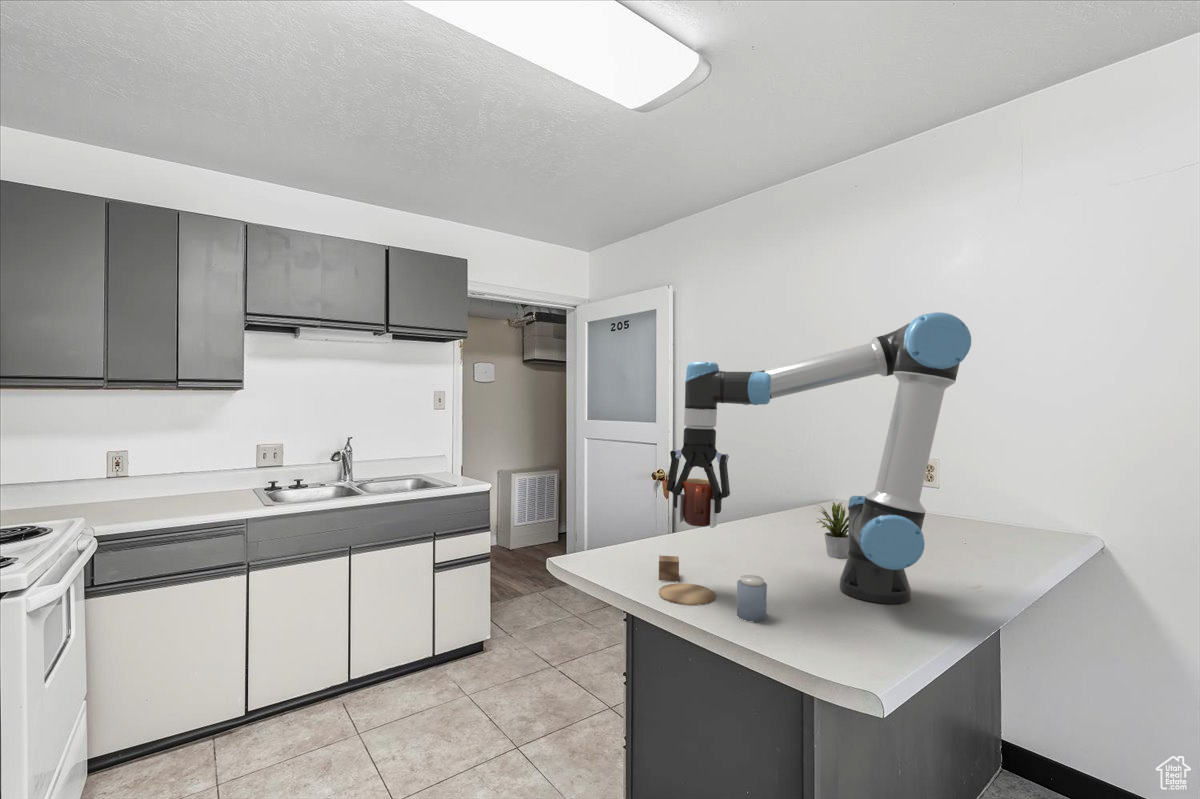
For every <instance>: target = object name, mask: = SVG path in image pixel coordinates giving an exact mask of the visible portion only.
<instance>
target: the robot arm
mask: <svg viewBox="0 0 1200 799" xmlns="http://www.w3.org/2000/svg"><path fill="white" fill-rule="evenodd" d="M971 347H972V334H971V331H970V329H969V328H968V326H967V324H966V323H965V322H964V321H963V320H961V319H960V318H959V317H957V316H955V315H953V314H950V313H947V312H930V313H925V314H922V315H919V316H917V317H915V318H914V319H913V320H912V321H911V322H908V323H907V324H905V325H903V326H901V327H899V328H898V329H896V330H894V331H891V332H889V333H886V334H883V335H879V336H875V337H873V338H872V340H871V341H870V342H869V343H865V344H861V345H858V346H857V345H856V346H853V347H850V348H846V349H841V350H837V351H834V352H829V353H825V354H822V355H818V356H814V357H809V358H806V359H801V360H797V361H794V362H790V363H786V364H782V365H778V366H775V367H771V368H767V369H761V370H758V371H756V370H755V371H723V370H720V368H719V364H718V363H717V362H711V361H693V362H690V363H688V364H687V365H686V366H687V367H686V372H685V373H686V374H685V382H684V383H685V386H684V387H685V388H684V393H685V394H684V416H683V425H684V426H685V428H684V429H683V438H682V439H683V442H682V443H683V445H682V448H681V449H674V450H670V452H669V453H670V454H669V455H670V460H671V461H670V466H669V472H668V477H667V482H666V483H667V484H666V489H665V490H666V491H667V492H670V493H672V494H673V507H674V509H677V510H676V523H677V524H680V523H681V524H682V523H683V522H684V514H683V511H684V493H683V491H684V488H683V481H685V482H686V480H687V479H689V476H690V473H691V471H692V470H693V469H694V468H696V467H698V468H703V470H704V472H705V474H706V477H707V479H708V480H709V483H710V486H711V489H712V492H713V495H714V498H713V499H711V512H710V526H709V528H711V529H714V528H716V526H717V519H718V514H720V513H721V512H722V500H723V499H725V498H727V497H730V495H731V491H730V482H729V472H728V471H729V470H728V461H729V457H730V456H729V454H728V453H721V452H718V450H717V448H716V442H717V438H716V437H717V430H716V429H715V427H717V415H718V413H717V412H718V410H717V409H718V404H735V405H736V404H737V405H744V406H749V405H753V406H759V405H761V406H762V405H763V406H764V405H768V404H769V403H770V401H771V400H772V399H775V398H780V397H785V396H789V395H792V394H797V393H801V392H806V391H809V390H815V389H818V388H824V387H828V386H832V385H836V384H840V383H844V382H848V381H853V380H858V379H861V378H865V377H869V376H874V375H880V376H882V377H884V378H885V377H890V376H894V377H895V379H897V381H898V385H897V390H896V393H895V394H896V395H895V398H894V403H893V408H892V412H891V417H890V421H889V425H888V430H887V434H886V438H885V444H884V446H883V452H882V455H881V456H882V457H881V461H880V466H879V470H878V475H877V478H876V483H875V488H874V489H873V490H872V491H871V492H869V493H867V494H866V495H852V496H850V498H849V500H848V505H847V509H848V516H849V520H848V523H849V526H848V528H847V530H848V532H847V533H848V534H847V535H848V552H847V560H846V561H845V564H844V568H843V570H842V573H841V576H840V578H839V590H840V591H841V592H842V593H844V594H846V595H847V596H850V597H852V598H854V599H858V600H863V601H866V602H870V603H878V604H887V605H893V604H894V605H898V604H897V603H899V604H905V603H908V602H909V601H911V597H912V596H911V595H912V593H911V592H912V590H911V589H912V588H911V586H910V583H909V580H908V577H907V576H908V575H907V573H906V571H905V569H907V568H910V567H911V566H913V565H914V564H916V563H917V562H918V561H920V558H921V557H922V555H923V553H924V550H925V544H926V543H925V538H924V536H925V535H924V534H923V532H922V529H923V524H924V520H925V515H926V509H925V507H924V506H923V505H922V503H921V501H920V500H921V495H922V492H923V491H922V490H923V487H924V482H925V478H926V472H927V469H928V464H929V460H930V457H931V451H932V446H933V443H934V437H935V434H936V429H937V426H938V421H939V416H940V413H941V412H940V411H941V408H942V403H943V399H944V395H945V391H946V390H947V388H950V387H951V386H952V385H954V384H956V380H957V376H958V373H959V368H960V363H962V362H963V360H965V359H966V356H967V355H968V354H969V352H970V350H971ZM682 456H683V458H684V459H685V463H684V464H683V468H682V471H681V473H680V476H679V478H678V476H677V475H678V472H679V466H680V465H679V464H680V459H681V458H682ZM715 459H716V461H717V462H718V468H719V470H718V471H719V480H720V483H719V484H718V482H719V481H718V479H717V476H716V474H715V469H714V466H713V461H714V460H715ZM677 478H678V480H677ZM717 481H718V482H717ZM907 601H908V602H907Z"/></svg>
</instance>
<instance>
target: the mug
mask: <svg viewBox="0 0 1200 799" xmlns="http://www.w3.org/2000/svg"><path fill="white" fill-rule="evenodd" d="M717 482H718V484H719V485H720V482H719V481H718V480H717ZM683 494H684V511H683V514H684V520H683V522H685V523H686V525H688V526H693V527H703V528H704V527H710V512H711V499H713V498H714V495H713V492H712V489H711V486H710V483H709V480H708V478H707V479H706V478H687V480H686V482H685V481H683Z"/></svg>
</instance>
